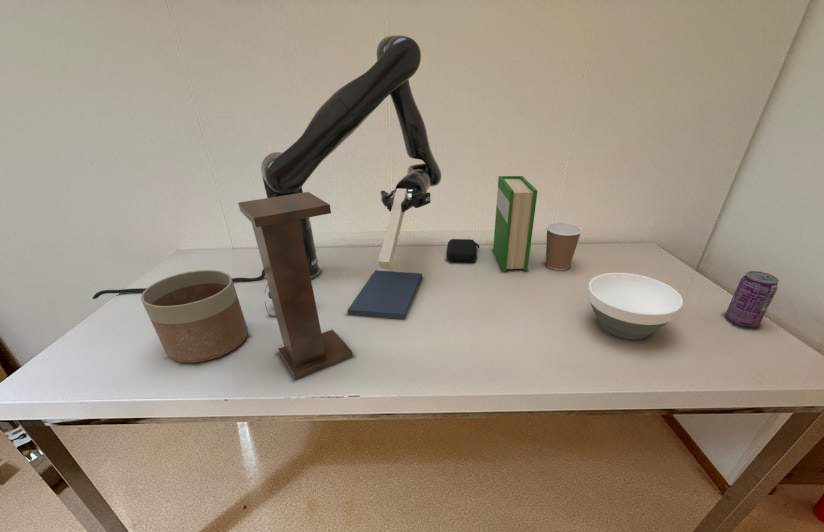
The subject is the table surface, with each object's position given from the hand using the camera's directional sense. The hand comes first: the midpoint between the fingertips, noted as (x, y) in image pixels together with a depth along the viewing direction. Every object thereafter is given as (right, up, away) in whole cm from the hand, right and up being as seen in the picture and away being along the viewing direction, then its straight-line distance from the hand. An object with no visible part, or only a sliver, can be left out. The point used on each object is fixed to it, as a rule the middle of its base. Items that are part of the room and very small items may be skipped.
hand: (396, 207), depth 92 cm
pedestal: (-15, -34, -11) cm, 39 cm away
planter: (-40, -32, -7) cm, 51 cm away
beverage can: (+83, -27, +2) cm, 88 cm away
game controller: (-27, -24, +5) cm, 37 cm away
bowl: (+54, -28, 0) cm, 61 cm away
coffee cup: (+46, -10, +29) cm, 56 cm away
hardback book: (+32, -8, +32) cm, 46 cm away
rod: (0, -5, 0) cm, 5 cm away
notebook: (-4, -20, +12) cm, 24 cm away
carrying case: (+17, -6, +36) cm, 40 cm away
